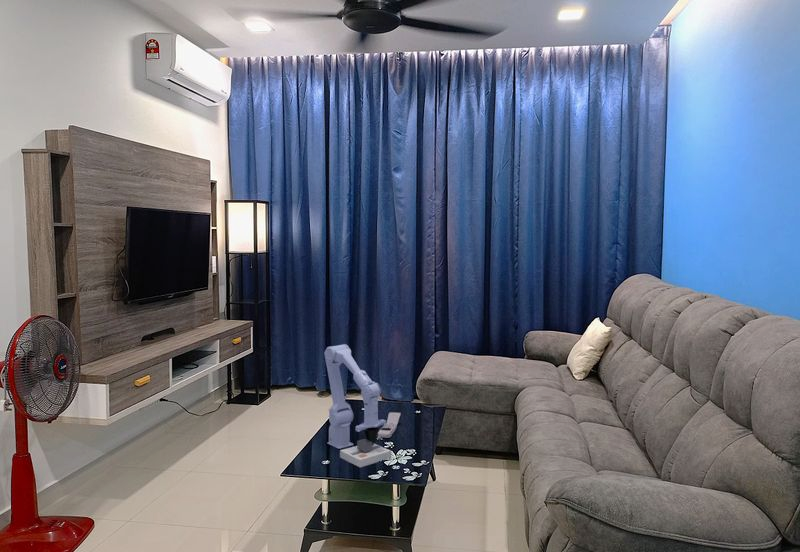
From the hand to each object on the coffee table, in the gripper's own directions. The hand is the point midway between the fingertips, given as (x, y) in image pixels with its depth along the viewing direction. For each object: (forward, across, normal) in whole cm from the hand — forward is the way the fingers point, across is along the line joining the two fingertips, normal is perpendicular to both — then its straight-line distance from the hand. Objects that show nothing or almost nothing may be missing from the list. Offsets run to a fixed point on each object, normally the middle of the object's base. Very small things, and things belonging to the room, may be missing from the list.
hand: (371, 444), depth 242 cm
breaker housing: (+5, -3, 0) cm, 6 cm away
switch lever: (+1, -3, 0) cm, 4 cm away
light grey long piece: (+5, +26, +20) cm, 33 cm away
